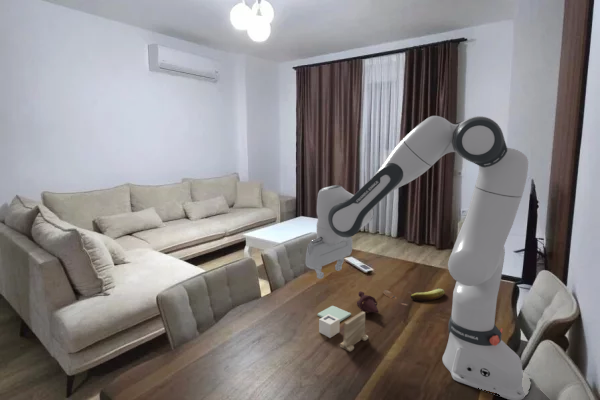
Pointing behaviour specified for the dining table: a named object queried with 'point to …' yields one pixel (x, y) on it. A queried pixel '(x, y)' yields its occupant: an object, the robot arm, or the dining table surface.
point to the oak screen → (354, 331)
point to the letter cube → (329, 325)
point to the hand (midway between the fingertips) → (329, 273)
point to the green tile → (335, 313)
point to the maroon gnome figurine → (367, 303)
